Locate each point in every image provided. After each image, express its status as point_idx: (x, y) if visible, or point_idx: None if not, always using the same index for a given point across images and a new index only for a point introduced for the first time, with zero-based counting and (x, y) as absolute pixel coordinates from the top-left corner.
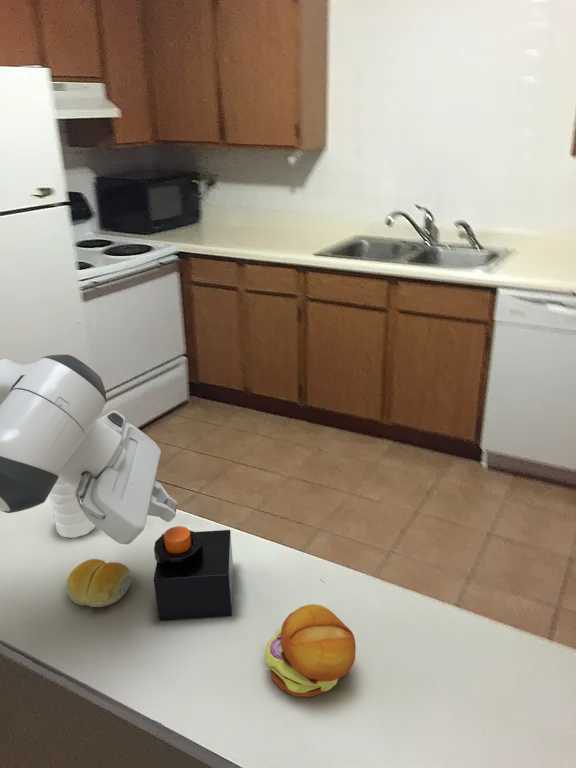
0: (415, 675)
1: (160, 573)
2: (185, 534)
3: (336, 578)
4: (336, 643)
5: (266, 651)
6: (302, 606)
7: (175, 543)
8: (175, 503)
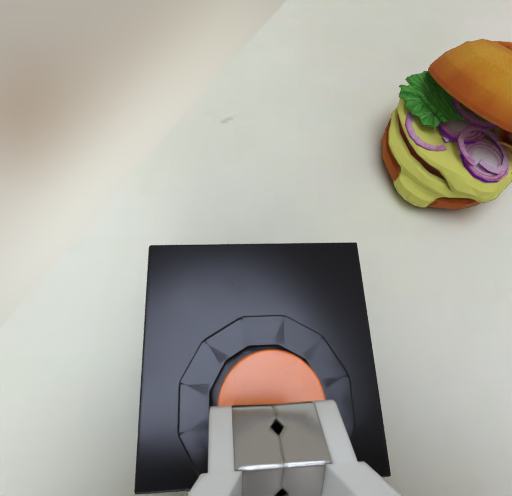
0: (425, 36)
1: (361, 455)
2: (278, 366)
3: (223, 98)
4: None
5: (487, 191)
6: (478, 80)
7: None
8: (237, 414)
